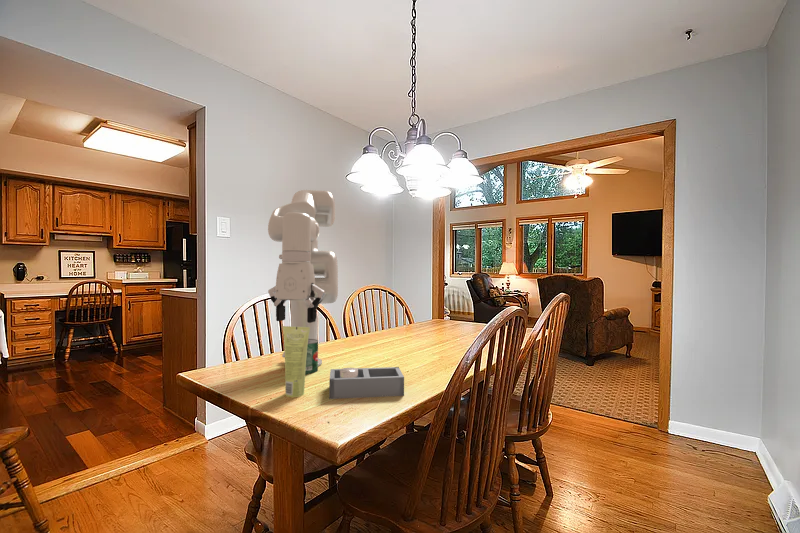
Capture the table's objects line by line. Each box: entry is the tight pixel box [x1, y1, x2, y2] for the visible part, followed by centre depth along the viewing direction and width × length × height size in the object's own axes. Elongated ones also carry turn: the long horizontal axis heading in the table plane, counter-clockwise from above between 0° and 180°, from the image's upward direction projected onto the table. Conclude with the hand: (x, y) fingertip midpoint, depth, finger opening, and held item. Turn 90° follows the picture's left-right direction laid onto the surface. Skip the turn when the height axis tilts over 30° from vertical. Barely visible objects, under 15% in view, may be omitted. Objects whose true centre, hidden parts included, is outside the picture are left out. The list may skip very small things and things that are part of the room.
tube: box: [282, 325, 310, 398], centre depth 105 cm, size 6×5×20 cm
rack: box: [328, 366, 405, 400], centre depth 108 cm, size 20×10×6 cm, turn 99°
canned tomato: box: [305, 339, 319, 376], centre depth 128 cm, size 8×8×11 cm
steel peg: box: [340, 367, 358, 378], centre depth 108 cm, size 5×5×6 cm
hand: (295, 321), depth 105 cm, fingers open, 9 cm apart
